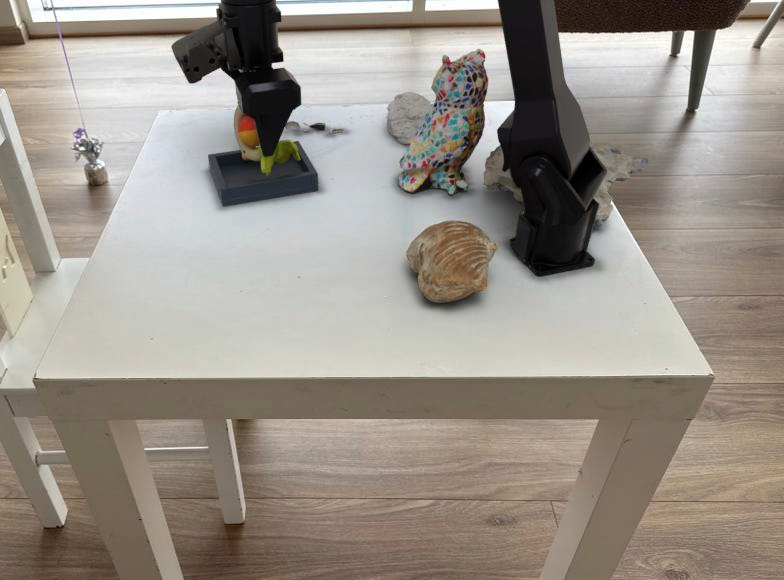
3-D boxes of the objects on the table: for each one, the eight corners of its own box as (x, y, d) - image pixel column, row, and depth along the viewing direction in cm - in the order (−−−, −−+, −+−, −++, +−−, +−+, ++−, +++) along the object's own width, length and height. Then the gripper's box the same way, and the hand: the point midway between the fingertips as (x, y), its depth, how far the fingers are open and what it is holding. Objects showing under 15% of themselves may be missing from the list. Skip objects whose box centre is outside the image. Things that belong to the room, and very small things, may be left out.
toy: (343, 132, 98) (345, 123, 99) (284, 124, 99) (286, 116, 100) (342, 140, 99) (344, 132, 100) (283, 133, 100) (286, 125, 101)
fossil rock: (463, 171, 87) (514, 247, 77) (478, 126, 83) (533, 199, 73) (612, 174, 92) (678, 246, 82) (632, 132, 88) (704, 202, 78)
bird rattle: (231, 185, 89) (277, 178, 82) (197, 93, 85) (242, 77, 78) (269, 167, 93) (315, 159, 86) (237, 78, 88) (284, 61, 81)
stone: (413, 136, 92) (369, 92, 97) (407, 166, 96) (365, 122, 101) (475, 115, 95) (430, 73, 100) (466, 144, 99) (423, 103, 104)
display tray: (299, 157, 94) (298, 140, 93) (318, 190, 88) (317, 173, 86) (210, 171, 92) (207, 154, 91) (222, 206, 86) (220, 189, 84)
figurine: (415, 157, 93) (423, 33, 83) (485, 169, 90) (502, 43, 80) (390, 188, 87) (396, 60, 77) (464, 203, 84) (480, 71, 74)
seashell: (475, 263, 77) (399, 263, 76) (489, 202, 72) (408, 201, 72) (499, 315, 69) (415, 316, 69) (515, 251, 65) (426, 250, 64)
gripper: (160, -19, 82) (181, 116, 92) (183, 37, 68) (204, 188, 79) (258, -30, 83) (267, 104, 94) (299, 22, 70) (305, 171, 81)
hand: (259, 139), depth 87 cm, fingers open, 8 cm apart
